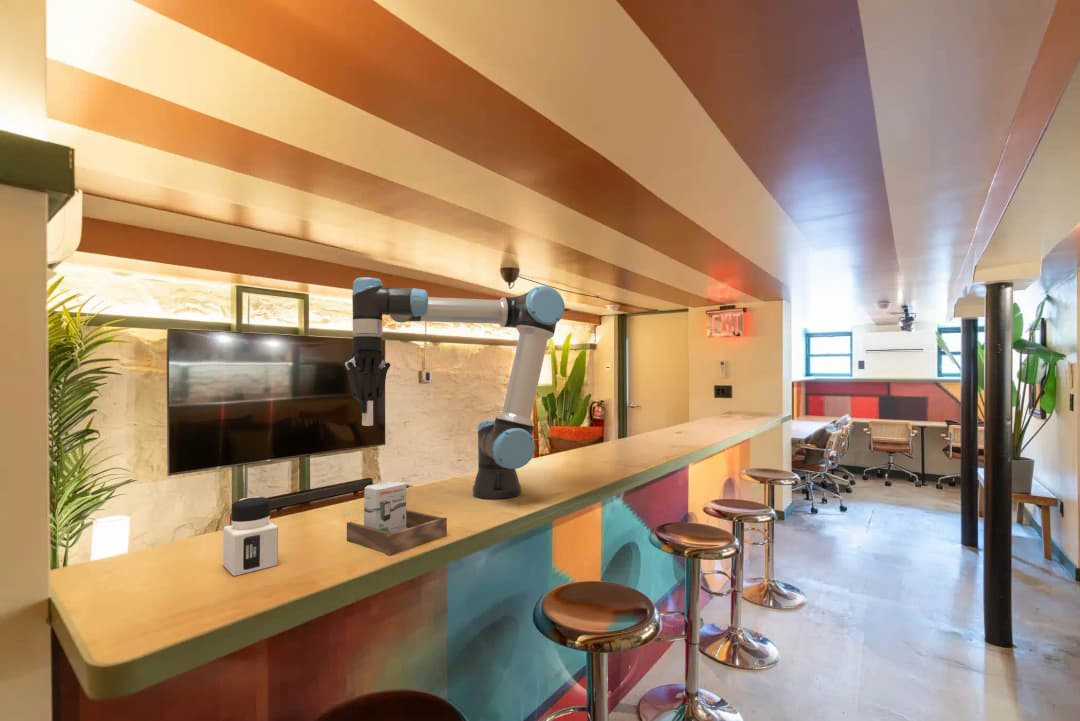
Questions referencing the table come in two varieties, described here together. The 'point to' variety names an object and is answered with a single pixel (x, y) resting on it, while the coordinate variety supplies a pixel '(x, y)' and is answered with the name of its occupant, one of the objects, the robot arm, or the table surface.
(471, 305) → the robot arm
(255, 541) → the container
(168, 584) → the table surface
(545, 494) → the table surface
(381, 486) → the ink box
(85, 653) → the table surface
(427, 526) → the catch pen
